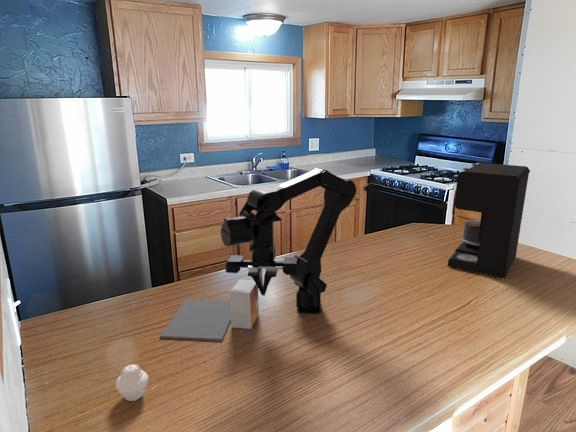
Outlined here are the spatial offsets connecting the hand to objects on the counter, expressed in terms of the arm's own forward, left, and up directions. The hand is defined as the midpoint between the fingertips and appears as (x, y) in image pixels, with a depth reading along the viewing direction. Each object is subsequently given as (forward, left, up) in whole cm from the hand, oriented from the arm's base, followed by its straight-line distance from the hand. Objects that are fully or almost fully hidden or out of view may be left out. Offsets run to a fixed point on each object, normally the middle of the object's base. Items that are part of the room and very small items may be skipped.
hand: (263, 294), depth 109 cm
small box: (+5, 0, -8) cm, 10 cm away
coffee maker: (-75, -51, -8) cm, 91 cm away
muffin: (+22, +31, -8) cm, 39 cm away
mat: (+17, 0, -8) cm, 19 cm away
